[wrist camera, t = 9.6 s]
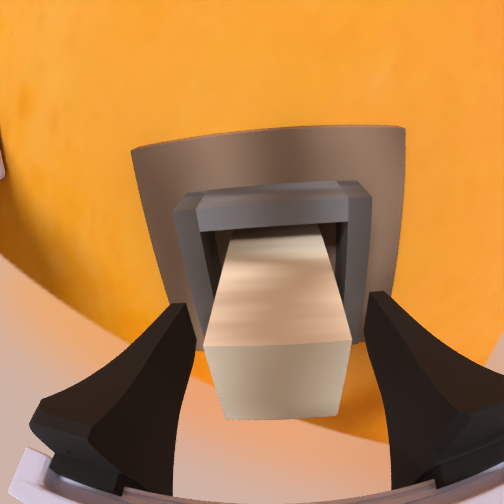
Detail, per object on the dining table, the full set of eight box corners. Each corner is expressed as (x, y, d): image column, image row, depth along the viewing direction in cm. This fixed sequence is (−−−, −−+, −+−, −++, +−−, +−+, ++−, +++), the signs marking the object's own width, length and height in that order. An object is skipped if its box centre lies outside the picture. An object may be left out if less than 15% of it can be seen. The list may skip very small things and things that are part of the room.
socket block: (188, 339, 20) (176, 378, 17) (138, 146, 14) (106, 162, 11) (378, 328, 19) (391, 367, 16) (397, 125, 13) (429, 136, 10)
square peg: (243, 292, 17) (225, 419, 10) (234, 225, 15) (202, 346, 8) (316, 288, 17) (336, 415, 10) (316, 220, 15) (352, 339, 8)
